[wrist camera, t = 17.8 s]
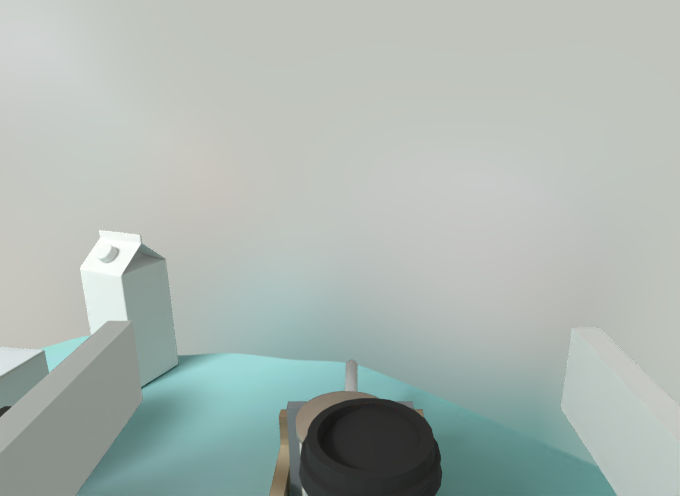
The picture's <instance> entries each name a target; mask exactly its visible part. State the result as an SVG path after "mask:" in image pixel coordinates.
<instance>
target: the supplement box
mask: <svg viewBox="0 0 680 496" xmlns="http://www.w3.org/2000/svg"><path fill="white" fill-rule="evenodd" d="M48 374H49V371H48V366H47V362H46V356H45V351H44V350H37V349H22V348H10V347H0V409H1V408H2V407H4V406H13V405H14V404H16V403H17V402H18V401H19V400H20V399H21V398H22V397H23V396H24V395H26V394H27V393H28V392H29V391H30V390H31V389H32V388H33V387H34V386H36V385H37V384H38V383H39V382H40V381H41V380H42V379H43V378H44V377H46V376H47V375H48Z"/></svg>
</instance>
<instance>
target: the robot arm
mask: <svg viewBox="0 0 680 496" xmlns="http://www.w3.org/2000/svg"><path fill="white" fill-rule="evenodd" d="M142 401H143V397H142V389H141V382H140V374H139V366H138V358H137V351H136V343H135V335H134V327H133V321H107V322H106V323H105V324H103V325H102V326H101V327H100V328H99V329H98V330H97V331H96V332H95V333H93V334H92V335H91V336H90V337H89V338H88V339H87V340H86V341H85V342H83V343H82V344H81V345H80V346H79V347H78V348H77V349H76V350H75V351H73V352H72V353H71V354H70V355H69V356H68V357H67V358H66V359H65V360H63V361H62V362H61V363H60V364H59V365H58V366H57V367H56V368H55V369H53V370H52V371H51V372H50V373H49V374H48V375H47V376H46V377H44V378H43V379H42V380H41V381H40V382H39V383H38V384H37V385H36V386H34V387H33V388H32V389H31V390H30V391H29V392H28V393H27V394H26V395H24V396H23V397H22V398H21V399H20V400H19V401H18V402H17V403H16V404H14V405H13V406H4V407H2V408H1V409H0V496H76V494H77V493H78V492H79V490H80V489H81V487H82V486H83V484H84V483H85V482H86V480H87V479H88V477H89V476H90V475H91V473H92V472H93V470H94V469H95V467H96V466H97V465H98V463H99V462H100V460H101V459H102V458H103V456H104V455H105V453H106V452H107V450H108V449H109V448H110V446H111V445H112V443H113V442H114V441H115V439H116V438H117V436H118V435H119V433H120V432H121V431H122V429H123V428H124V426H125V425H126V424H127V422H128V421H129V419H130V418H131V416H132V415H133V414H134V412H135V411H136V409H137V408H138V407H139V405H140V404H141V402H142ZM561 410H562V411H563V413H564V414H565V416H566V417H567V419H568V420H569V422H570V424H571V425H572V427H573V428H574V430H575V431H576V433H577V434H578V435H579V437H580V439H581V440H582V442H583V444H584V445H585V447H586V448H587V450H588V451H589V453H590V454H591V456H592V457H593V459H594V460H595V462H596V464H597V465H598V467H599V468H600V470H601V471H602V473H603V474H604V476H605V477H606V479H607V480H608V482H609V483H610V485H611V487H612V488H613V490H614V491H615V493H616V494H617V496H680V405H679V404H678V403H677V402H676V401H675V400H674V399H673V398H672V397H671V396H670V395H669V394H668V393H666V392H665V391H664V390H663V389H662V388H661V387H660V386H659V385H658V384H657V383H656V382H655V381H654V380H653V379H652V378H651V377H650V376H649V375H648V374H647V373H646V372H645V371H643V370H642V369H641V368H640V367H639V366H638V365H637V364H636V363H635V362H634V361H633V360H632V359H631V358H630V357H629V356H628V355H627V354H626V353H625V352H624V351H623V350H622V349H621V348H620V347H618V346H617V345H616V344H615V343H614V342H613V341H612V340H611V339H610V338H609V337H608V336H607V335H606V334H605V333H604V332H603V331H602V330H601V329H600V328H598V327H572V331H571V339H570V345H569V352H568V359H567V366H566V373H565V380H564V387H563V394H562V401H561Z"/></svg>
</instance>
